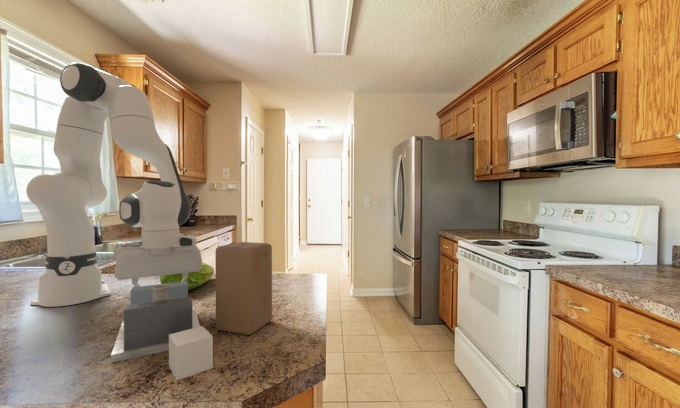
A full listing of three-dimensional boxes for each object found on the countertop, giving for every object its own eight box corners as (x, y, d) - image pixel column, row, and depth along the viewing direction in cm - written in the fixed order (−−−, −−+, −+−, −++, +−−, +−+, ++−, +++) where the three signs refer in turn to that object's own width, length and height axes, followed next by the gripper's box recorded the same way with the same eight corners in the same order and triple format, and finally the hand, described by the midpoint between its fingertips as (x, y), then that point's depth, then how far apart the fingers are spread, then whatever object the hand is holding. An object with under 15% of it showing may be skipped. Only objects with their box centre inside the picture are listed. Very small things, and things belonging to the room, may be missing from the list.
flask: (185, 325, 72) (185, 282, 72) (163, 338, 65) (163, 291, 65) (157, 323, 73) (157, 281, 73) (133, 336, 66) (132, 290, 66)
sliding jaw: (132, 319, 75) (132, 287, 75) (187, 310, 81) (186, 281, 81) (130, 324, 72) (130, 291, 71) (188, 315, 78) (187, 284, 77)
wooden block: (273, 320, 78) (273, 242, 78) (249, 337, 69) (249, 248, 69) (240, 316, 82) (240, 241, 81) (214, 331, 72) (213, 246, 72)
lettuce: (230, 265, 122) (206, 246, 123) (196, 277, 97) (166, 253, 99) (212, 289, 122) (188, 270, 123) (174, 307, 97) (145, 282, 99)
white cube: (202, 356, 61) (202, 325, 61) (212, 368, 56) (213, 336, 56) (168, 366, 57) (168, 334, 57) (176, 381, 52) (176, 346, 52)
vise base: (122, 327, 74) (122, 288, 74) (195, 314, 82) (195, 279, 82) (110, 362, 58) (110, 313, 58) (202, 343, 66) (202, 299, 66)
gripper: (111, 244, 75) (112, 301, 75) (202, 239, 85) (203, 288, 85) (115, 241, 80) (115, 294, 80) (200, 236, 90) (200, 283, 91)
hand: (161, 291), depth 83 cm, fingers open, 8 cm apart
